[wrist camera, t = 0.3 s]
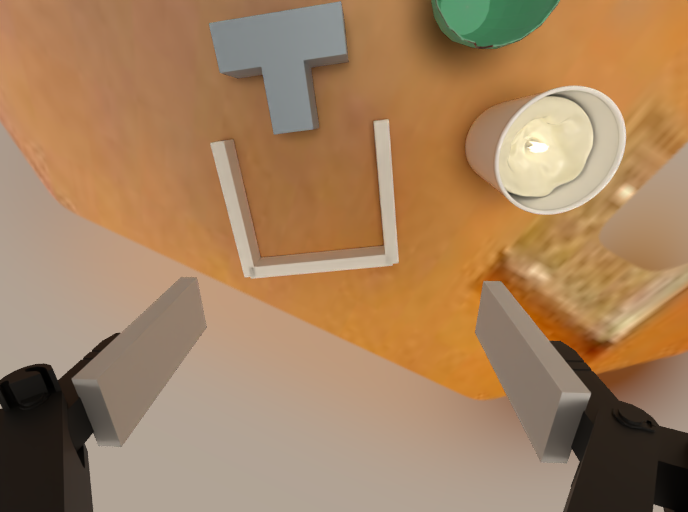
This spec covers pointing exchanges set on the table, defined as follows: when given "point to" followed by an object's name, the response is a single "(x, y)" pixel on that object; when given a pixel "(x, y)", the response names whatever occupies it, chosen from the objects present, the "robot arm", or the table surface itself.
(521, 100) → the candle holder
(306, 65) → the t block
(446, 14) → the mug
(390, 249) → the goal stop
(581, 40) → the table surface
